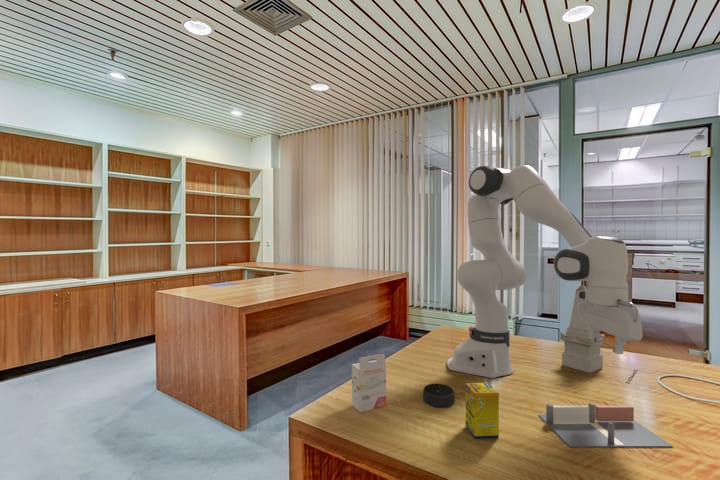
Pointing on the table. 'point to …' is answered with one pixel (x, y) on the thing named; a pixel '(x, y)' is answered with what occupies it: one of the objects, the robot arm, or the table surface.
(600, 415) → the fence panel
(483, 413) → the supplement box
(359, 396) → the ink cartridge box
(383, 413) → the table surface
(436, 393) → the smart speaker
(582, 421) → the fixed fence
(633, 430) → the card
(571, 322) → the miniature monument
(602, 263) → the robot arm
